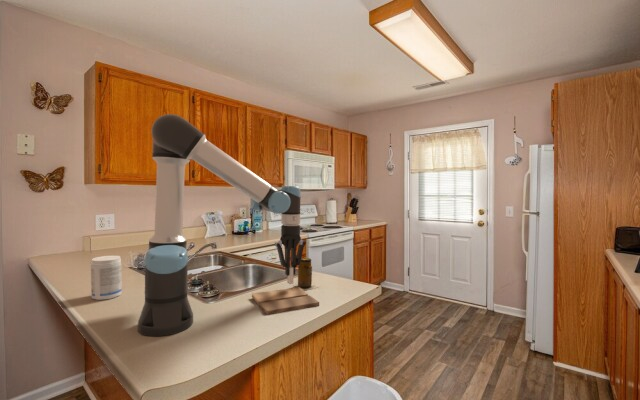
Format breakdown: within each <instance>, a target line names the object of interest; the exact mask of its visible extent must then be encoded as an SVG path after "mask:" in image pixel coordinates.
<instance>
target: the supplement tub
mask: <svg viewBox="0 0 640 400" xmlns="http://www.w3.org/2000/svg"><path fill="white" fill-rule="evenodd" d="M121 258H122V257H121V256H120V255H102V256H97V257H94V258H92V259H91V260H90V283H91V284H90V286H91V298H92V299H93V300H97V301H104V300H110V299H113V298H116V297H118V296H120V295H122V293H123V291H122V290H123V289H122V288H123V285H122V284H123V283H122V281H123V280H122V279H123V278H122V259H121Z"/></svg>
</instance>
